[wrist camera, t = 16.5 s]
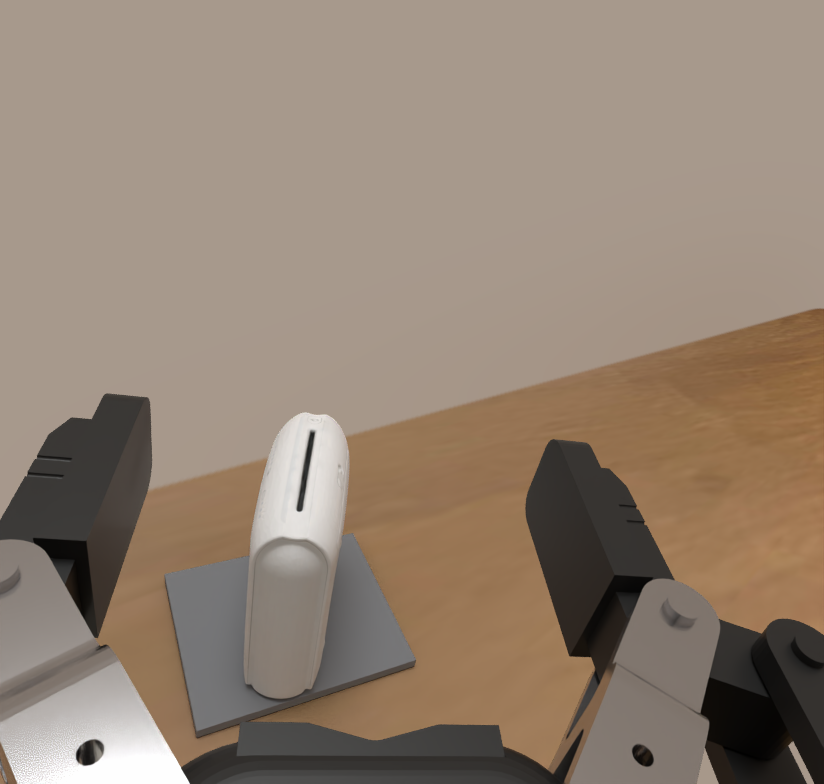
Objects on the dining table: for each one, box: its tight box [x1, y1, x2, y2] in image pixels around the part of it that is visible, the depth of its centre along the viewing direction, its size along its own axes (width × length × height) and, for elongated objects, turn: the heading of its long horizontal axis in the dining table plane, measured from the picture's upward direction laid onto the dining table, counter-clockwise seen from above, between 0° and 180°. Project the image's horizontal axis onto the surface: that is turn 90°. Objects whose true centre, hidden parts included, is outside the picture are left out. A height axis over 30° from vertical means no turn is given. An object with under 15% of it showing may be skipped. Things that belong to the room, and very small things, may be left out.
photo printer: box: [244, 413, 349, 699], centre depth 35 cm, size 10×4×12 cm, turn 1°
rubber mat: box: [165, 533, 416, 737], centre depth 38 cm, size 12×10×1 cm
